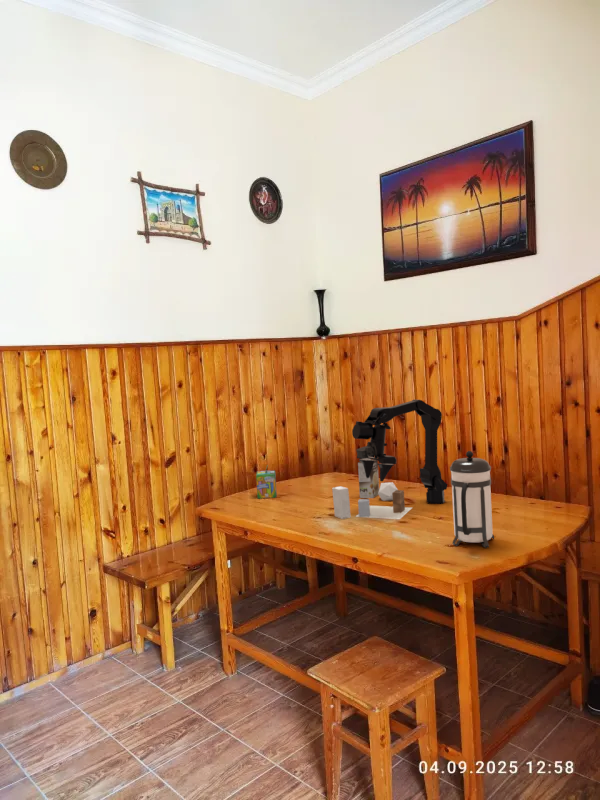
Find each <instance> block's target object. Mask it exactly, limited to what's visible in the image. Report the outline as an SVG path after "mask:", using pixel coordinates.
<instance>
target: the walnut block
mask: <svg viewBox="0 0 600 800" xmlns="http://www.w3.org/2000/svg"><path fill="white" fill-rule="evenodd" d="M392 496H393V500H392V507H393V513H402V512H403V511H405V507H406V506H405V504H406V503H405V491H404V490H403V489H402V490H401V489H398V490H396V491H394V492H393V493H392Z"/></svg>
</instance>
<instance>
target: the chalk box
mask: <svg viewBox="0 0 600 800" xmlns="http://www.w3.org/2000/svg"><path fill="white" fill-rule="evenodd" d="M268 466H269V465H268V464H267V465H266V467H265V470H260V471H259V470H257V471H256V475H255V476H256V478H255V480H256V492H257V493H256V494H257V495H256V496H257V499H272V498H277V497H278V496H277V494H278V493H277V492H278V491H277V479H276V470H268Z"/></svg>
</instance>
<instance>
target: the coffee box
mask: <svg viewBox="0 0 600 800" xmlns="http://www.w3.org/2000/svg"><path fill="white" fill-rule="evenodd" d="M371 460H374V459H371ZM378 464H379V461H378V460H374V463H373V467H372V470H371V474H370V477H369V478H366V474H365V470H364V466H363V464H362V463H361V461H359V462H357V468H358V487H359V490H358V491H359V499H375V497H377V496H379V495H378V492H379V488H380V482H379V480H380V476H379V465H378Z"/></svg>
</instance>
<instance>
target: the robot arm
mask: <svg viewBox="0 0 600 800" xmlns="http://www.w3.org/2000/svg"><path fill="white" fill-rule="evenodd" d="M411 412H415V413H416V414H417V415H418V416H419V417H420V420H421V424H422V426H423V428H424V433H425V434H424V441H425V442H424V444H425V445H424V457H425V458H424V466H423V467H422V468H419V476H418V477H419V479H420V482H421V483H422V484H423V486H424V487H423V488H425V489H426V490H427V492H425V493H426V494H425V495H426V498H425V499H426V504H429V505H444V503H445V502H446V500H445V490H447V488H448V484H447V483H446V482H445V480H443V479H442V471H441V470H440V467H439V465H438V431H439V430H438V429H440V426H441V425H442V418H443V417H442V416H443V413H442V411H441V410H440V409H439V408H435V407H433V406H432V405H430V404H428V403H426V402H424V401H423V400H422V399H412V400H410V401H407V402H403V403H400V404H396V405H393V406H388V407H385V406H384V407H373V408H372V409H371V410H370V413H369V415H368V417H366V419H365V420H364V422H363V421H359V420H358V421H357V420H356V422H355V425H354V426H353V428H352V432H351V434H352V437H353V439H354V440H370V441H367V444H366V445H365V446H362V447H359V448H357V449H356V459H358V461H359V462H360V461H361V463H362V464H363V466H364V470H365V474H366V478H369V477H370V474H371V470H372V467H373V463H374V460H378V468H379V480H380V482H384V480H385V479H386V477H387V475H388V474H389V471H391V469H392V467H394V466H395V465H397V457H396V456H393V455H387V453H385V447H387V446H388V443H387V442H386V430H391V429H392V427H391V426H390V425H389V424H388V422H389V421H392V420H393V419H394V418H396V417H397V416H401V415H404V414H407V413H411ZM385 442H386V443H385ZM371 459H374V460H371Z"/></svg>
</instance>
